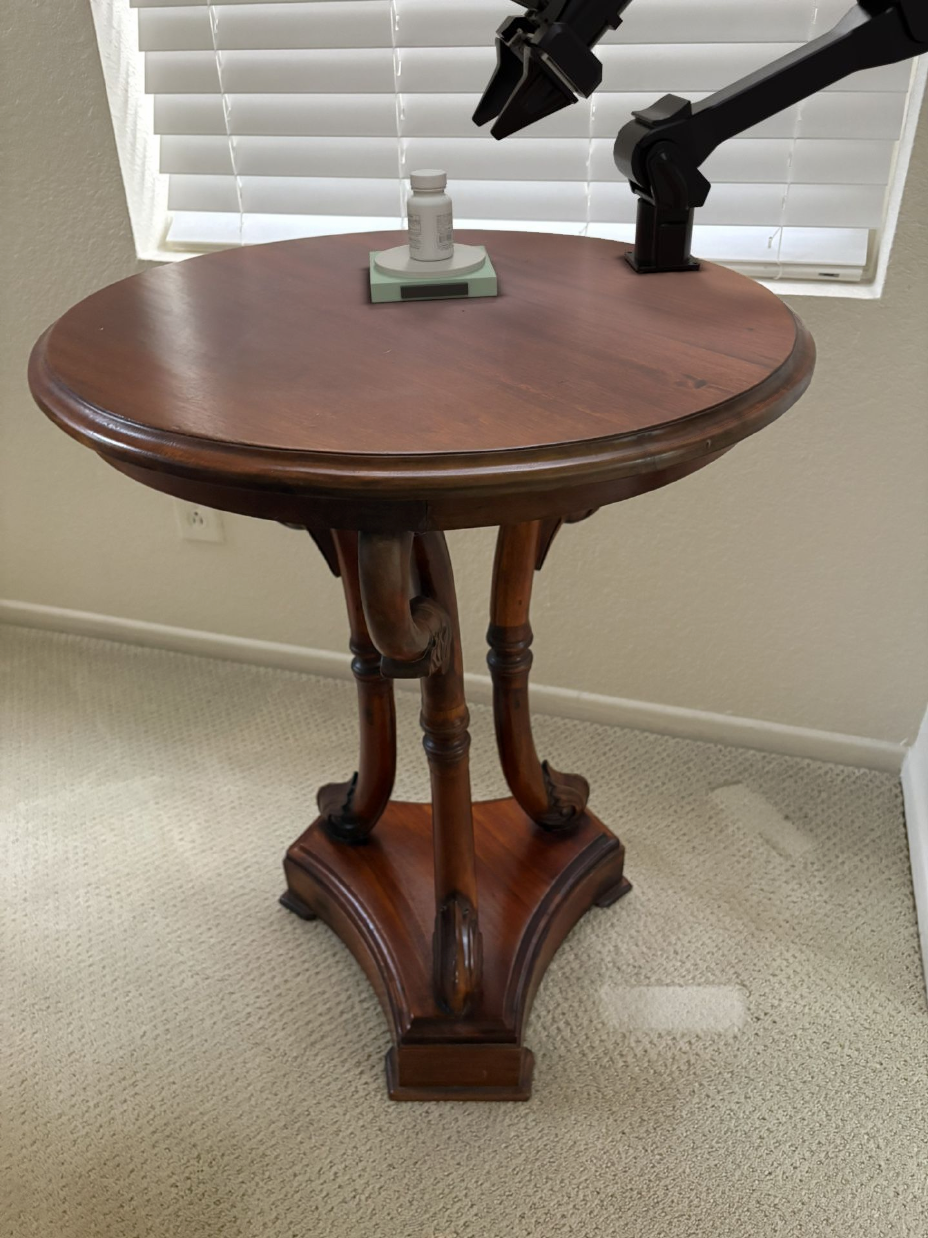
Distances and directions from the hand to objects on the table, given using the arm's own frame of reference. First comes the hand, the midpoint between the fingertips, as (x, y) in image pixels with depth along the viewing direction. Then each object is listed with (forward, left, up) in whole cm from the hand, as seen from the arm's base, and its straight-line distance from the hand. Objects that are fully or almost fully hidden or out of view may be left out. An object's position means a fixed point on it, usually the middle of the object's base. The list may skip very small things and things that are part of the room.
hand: (483, 129), depth 94 cm
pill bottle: (0, -5, -11) cm, 13 cm away
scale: (0, -6, -14) cm, 15 cm away
